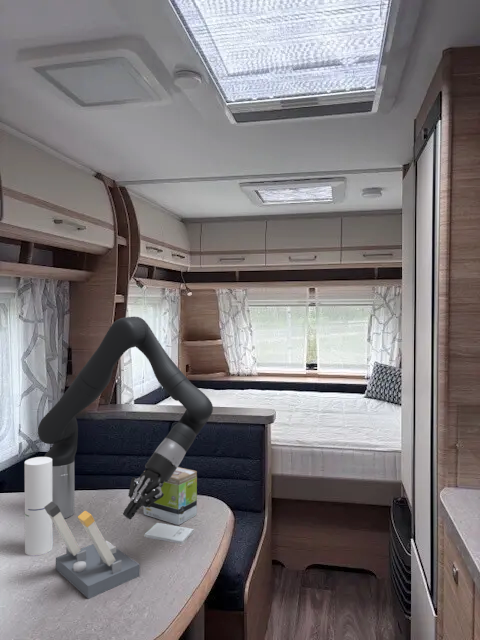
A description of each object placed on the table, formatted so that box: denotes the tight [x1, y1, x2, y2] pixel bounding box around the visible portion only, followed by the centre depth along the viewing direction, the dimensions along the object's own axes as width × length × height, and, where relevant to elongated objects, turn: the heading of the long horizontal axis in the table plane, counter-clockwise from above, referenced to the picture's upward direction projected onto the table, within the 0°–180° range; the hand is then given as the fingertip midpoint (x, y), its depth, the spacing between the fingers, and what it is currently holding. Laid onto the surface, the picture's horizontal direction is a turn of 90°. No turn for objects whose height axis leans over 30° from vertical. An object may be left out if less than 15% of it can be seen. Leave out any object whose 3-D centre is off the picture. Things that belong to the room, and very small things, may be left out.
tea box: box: [143, 466, 198, 526], centre depth 159 cm, size 15×10×15 cm
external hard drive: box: [144, 522, 195, 545], centre depth 146 cm, size 2×8×12 cm
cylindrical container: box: [24, 456, 54, 557], centre depth 136 cm, size 7×7×25 cm
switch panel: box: [55, 539, 141, 600], centre depth 125 cm, size 18×14×5 cm
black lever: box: [44, 502, 81, 556], centre depth 124 cm, size 4×2×16 cm, turn 45°
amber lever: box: [77, 510, 115, 567], centre depth 119 cm, size 4×2×16 cm, turn 44°
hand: (126, 517), depth 125 cm, fingers closed
